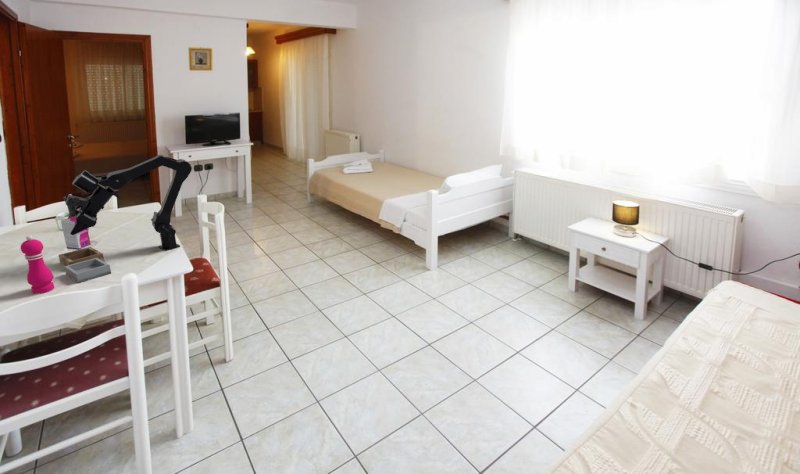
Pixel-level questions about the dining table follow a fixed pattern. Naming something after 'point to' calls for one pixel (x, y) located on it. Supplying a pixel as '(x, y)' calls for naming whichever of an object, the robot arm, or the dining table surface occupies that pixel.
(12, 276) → the dining table surface
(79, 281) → the tray
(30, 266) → the pepper mill
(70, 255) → the holder
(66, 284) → the dining table surface
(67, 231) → the supplement box
